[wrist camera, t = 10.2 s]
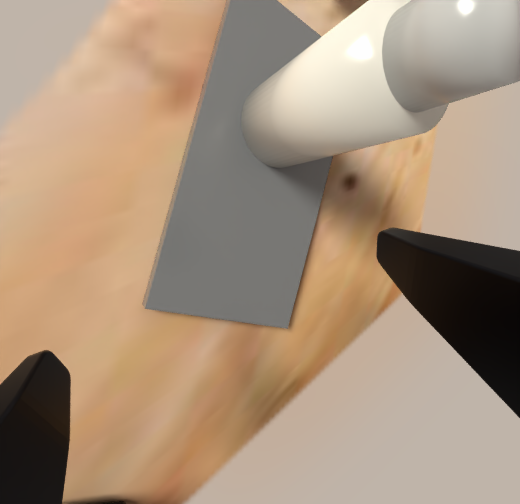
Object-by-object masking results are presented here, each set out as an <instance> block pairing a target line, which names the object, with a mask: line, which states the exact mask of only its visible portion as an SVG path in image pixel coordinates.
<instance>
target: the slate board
mask: <svg viewBox="0 0 520 504" xmlns="http://www.w3.org/2000/svg"><path fill="white" fill-rule="evenodd" d="M320 38H321V36H320V35H319V34H318V33H316V32H315V31H314V30H313V29H311V28H310V27H309V26H308V25H306V24H305V23H304V22H303V21H302V20H300V19H299V18H298V17H297V16H295V15H294V14H293V13H292V12H291V11H289V10H288V9H287V8H286V7H284V6H283V5H282V4H281V3H279V2H278V1H277V0H227V1H226V5H225V8H224V12H223V15H222V19H221V23H220V26H219V30H218V33H217V37H216V41H215V44H214V48H213V51H212V55H211V59H210V62H209V66H208V69H207V73H206V77H205V80H204V84H203V87H202V91H201V95H200V98H199V102H198V106H197V109H196V113H195V116H194V120H193V124H192V127H191V131H190V134H189V138H188V142H187V145H186V149H185V152H184V156H183V160H182V163H181V167H180V170H179V174H178V178H177V181H176V185H175V188H174V192H173V196H172V199H171V203H170V206H169V210H168V214H167V217H166V221H165V225H164V228H163V232H162V235H161V239H160V243H159V246H158V250H157V253H156V257H155V261H154V264H153V268H152V271H151V275H150V279H149V282H148V286H147V289H146V293H145V297H144V300H143V306H144V308H145V309H151V310H158V311H165V312H172V313H179V314H187V315H194V316H201V317H208V318H215V319H222V320H230V321H237V322H244V323H251V324H258V325H265V326H273V327H280V328H287V329H288V325H289V322H290V318H291V314H292V310H293V306H294V303H295V299H296V295H297V291H298V287H299V284H300V280H301V276H302V272H303V268H304V264H305V261H306V257H307V253H308V249H309V245H310V242H311V238H312V234H313V230H314V226H315V222H316V219H317V215H318V211H319V207H320V203H321V200H322V196H323V192H324V188H325V184H326V180H327V177H328V173H329V169H330V165H331V161H332V158H333V156H330V157H325V158H321V159H317V160H313V161H309V162H305V163H301V164H297V165H293V166H289V167H285V168H275V167H271V166H268V165H266V164H264V163H262V162H261V161H260V160H258V159H257V158H256V157H255V156H254V154H253V153H252V152H251V150H250V149H249V147H248V145H247V143H246V141H245V138H244V135H243V131H242V125H241V117H242V110H243V106H244V103H245V101H246V99H247V97H248V96H249V94H250V93H251V92H252V91H253V90H254V89H255V88H257V87H258V86H259V85H261V84H262V83H263V82H264V81H266V80H267V79H268V78H270V77H271V76H272V75H273V74H275V73H276V72H277V71H279V70H280V69H281V68H282V67H284V66H285V65H286V64H288V63H289V62H290V61H291V60H293V59H294V58H295V57H297V56H298V55H299V54H300V53H302V52H303V51H304V50H305V49H307V48H308V47H309V46H311V45H312V44H313V43H314V42H316V41H317V40H318V39H320Z"/></svg>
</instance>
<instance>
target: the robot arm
mask: <svg viewBox="0 0 520 504" xmlns="http://www.w3.org/2000/svg"><path fill="white" fill-rule="evenodd" d="M377 259H378V262H379V263H380V265H381V266H382V267H383V269H384V270H385V271H386V272H387V274H388V275H389V276H390V278H391V279H392V280H393V282H394V283H395V284H396V285H397V287H398V288H399V289H400V291H401V292H402V293H403V295H404V296H405V297H406V298H407V299H408V301H409V302H410V303H411V304H412V305H413V306H414V307H415V309H417V311H419V313H420V314H421V315H422V316H423V317H424V318H425V319H426V320H427V321H428V322H429V323H430V324H431V325H432V326H433V327H434V328H435V330H436V331H437V332H439V334H440V335H441V336H442V337H443V338H444V339H445V340H446V341H447V342H448V343H449V344H450V345H451V346H452V347H453V348H454V350H456V351H457V353H458V354H459V355H460V356H461V357H462V358H463V359H464V360H465V361H466V362H467V363H468V364H469V365H470V366H471V367H472V368H473V369H474V371H476V373H478V375H479V376H480V377H481V378H482V379H483V380H484V381H485V382H486V383H487V384H488V385H489V386H490V387H491V388H492V389H493V390H494V392H496V394H497V395H498V396H499V397H500V398H501V399H502V400H503V401H504V402H505V403H506V404H507V405H508V406H509V407H510V408H511V409H512V410H513V412H514V413H515V414H516V415H517V416H518V417H519V418H520V251H517V250H511V249H506V248H500V247H495V246H490V245H484V244H479V243H474V242H468V241H462V240H457V239H452V238H447V237H441V236H436V235H430V234H425V233H420V232H414V231H409V230H404V229H398V228H389V229H386V230H383V231H381V232H380V233H379V234H378V237H377ZM70 386H71V379H70V374H69V371H68V369H67V368H66V367H65V366H64V365H63V364H62V363H61V361H60V360H59V359H58V358H57V357H56V356H55V355H54V354H53V353H52V352H51V351H49V350H44V351H41V352H38V353H36V354H33V355H30V356H28V357H27V358H26V359H25V360H24V361H23V362H22V363H21V364H20V365H19V366H18V367H17V368H16V369H15V370H14V371H13V372H12V373H11V374H10V375H9V376H8V377H7V378H6V379H5V380H4V381H3V382H2V383H1V384H0V504H62V499H63V491H64V483H65V475H66V467H67V459H68V451H69V441H70ZM107 504H126V503H125V502H124V501H119V502H113V503H107Z"/></svg>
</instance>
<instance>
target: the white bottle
mask: <svg viewBox="0 0 520 504" xmlns="http://www.w3.org/2000/svg"><path fill="white" fill-rule="evenodd" d="M518 81H520V0H368V1H367V2H366V3H365V4H363V5H362V6H361V7H359V8H358V9H357V10H356V11H354V12H353V13H352V14H350V15H349V16H348V17H347V18H345V19H344V20H343V21H341V22H340V23H339V24H338V25H336V26H335V27H334V28H332V29H331V30H330V31H329V32H327V33H326V34H325V35H323V36H322V37H321V38H320V39H318V40H317V41H316V42H314V43H313V44H312V45H311V46H309V47H308V48H307V49H305V50H304V51H303V52H302V53H300V54H299V55H298V56H297V57H295V58H294V59H293V60H291V61H290V62H289V63H288V64H286V65H285V66H284V67H282V68H281V69H280V70H279V71H277V72H276V73H275V74H273V75H272V76H271V77H270V78H268V79H267V80H266V81H264V82H263V83H262V84H261V85H259V86H258V87H257V88H255V89H254V90H253V91H252V92H251V93H250V94H249V96H248V97H247V99H246V101H245V103H244V106H243V110H242V117H241V125H242V131H243V135H244V138H245V141H246V143H247V145H248V147H249V149H250V150H251V152H252V153H253V154H254V156H255V157H256V158H257V159H258V160H260V161H261V162H262V163H264V164H266V165H268V166H271V167H275V168H285V167H289V166H293V165H297V164H301V163H305V162H309V161H313V160H317V159H321V158H325V157H330V156H334V155H338V154H342V153H346V152H350V151H354V150H358V149H362V148H366V147H370V146H374V145H378V144H382V143H386V142H390V141H394V140H398V139H402V138H406V137H411V136H415V135H419V134H422V133H426V132H427V131H429V130H431V129H432V128H433V127H435V126H436V125H437V123H438V122H439V121H440V120H441V118H442V117H443V115H444V113H445V111H446V109H447V106H448V104H449V103H451V102H455V101H458V100H461V99H464V98H467V97H470V96H474V95H477V94H480V93H483V92H486V91H489V90H493V89H496V88H499V87H502V86H505V85H509V84H512V83H515V82H518Z"/></svg>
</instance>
